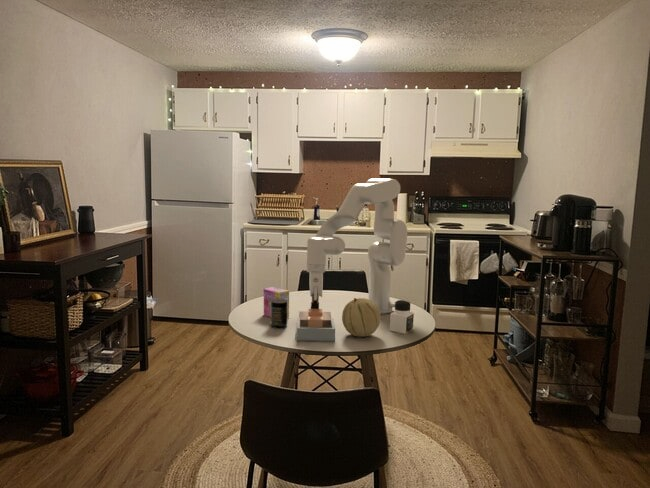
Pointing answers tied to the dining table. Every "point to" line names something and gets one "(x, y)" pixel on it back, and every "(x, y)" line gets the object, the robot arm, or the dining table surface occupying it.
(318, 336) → the tray
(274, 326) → the supplement container
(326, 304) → the dining table surface
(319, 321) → the tile front
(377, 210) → the robot arm
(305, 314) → the brown flat block
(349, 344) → the dining table surface
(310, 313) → the tile rear
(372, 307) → the cantaloupe
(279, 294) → the box
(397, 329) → the medicine bottle
